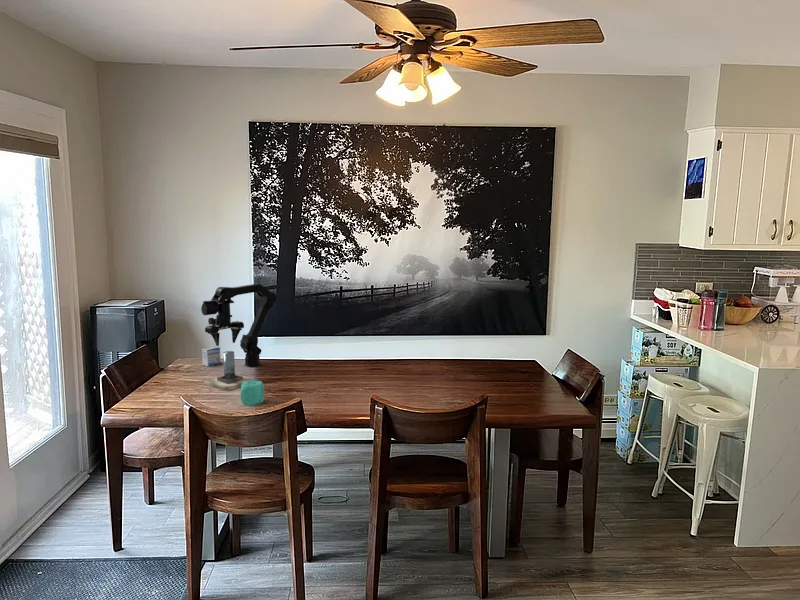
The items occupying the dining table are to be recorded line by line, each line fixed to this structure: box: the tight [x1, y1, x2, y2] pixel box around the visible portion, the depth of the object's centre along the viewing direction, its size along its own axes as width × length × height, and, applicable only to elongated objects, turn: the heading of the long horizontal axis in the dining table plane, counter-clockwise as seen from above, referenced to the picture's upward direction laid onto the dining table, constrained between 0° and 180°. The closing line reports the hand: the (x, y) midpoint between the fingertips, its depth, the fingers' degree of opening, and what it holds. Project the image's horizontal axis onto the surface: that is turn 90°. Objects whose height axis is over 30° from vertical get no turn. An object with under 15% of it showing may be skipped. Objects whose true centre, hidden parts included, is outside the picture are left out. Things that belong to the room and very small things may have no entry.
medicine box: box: [201, 346, 222, 367], centre depth 304 cm, size 8×4×9 cm, turn 143°
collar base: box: [203, 373, 256, 392], centre depth 270 cm, size 16×16×3 cm
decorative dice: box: [240, 380, 265, 406], centre depth 243 cm, size 8×8×8 cm
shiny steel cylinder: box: [222, 350, 236, 380], centre depth 269 cm, size 5×5×13 cm
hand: (225, 344), depth 291 cm, fingers open, 9 cm apart
